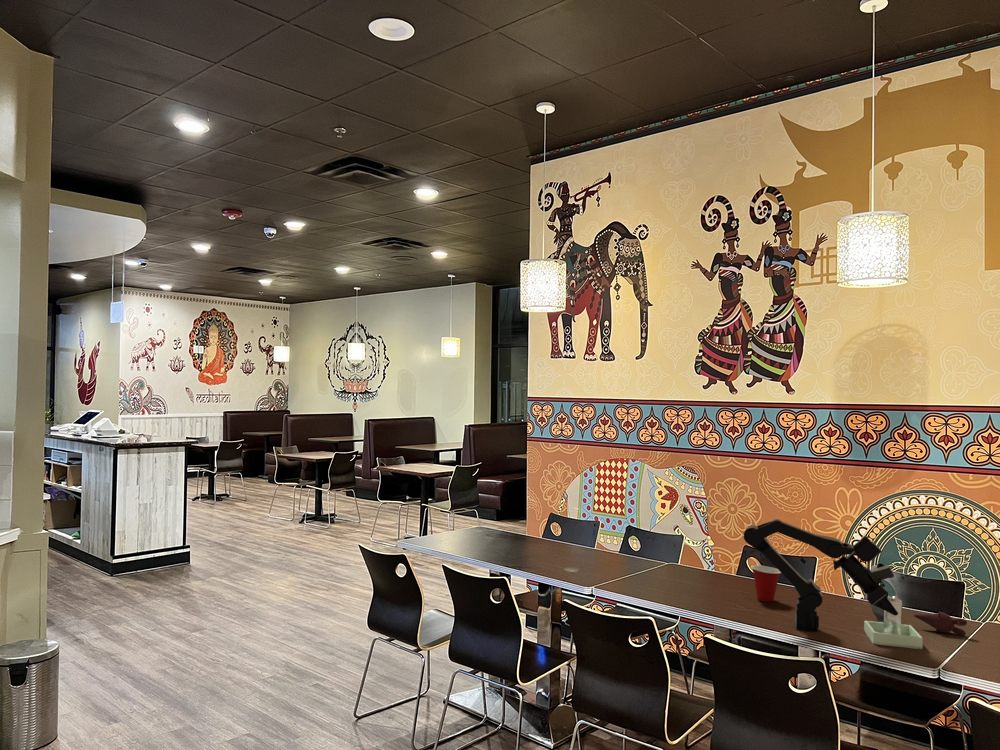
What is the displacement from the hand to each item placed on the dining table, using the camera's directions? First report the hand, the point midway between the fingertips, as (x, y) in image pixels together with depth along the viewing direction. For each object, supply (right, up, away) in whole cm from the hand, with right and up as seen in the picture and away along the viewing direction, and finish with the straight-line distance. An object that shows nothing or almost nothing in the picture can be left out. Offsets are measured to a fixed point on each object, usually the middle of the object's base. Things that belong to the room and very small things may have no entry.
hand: (895, 611), depth 230 cm
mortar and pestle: (+7, -10, +20) cm, 23 cm away
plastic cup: (-24, -11, +45) cm, 52 cm away
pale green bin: (-1, -9, 0) cm, 9 cm away
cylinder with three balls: (-1, -8, 0) cm, 9 cm away
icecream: (+20, -11, +10) cm, 25 cm away
